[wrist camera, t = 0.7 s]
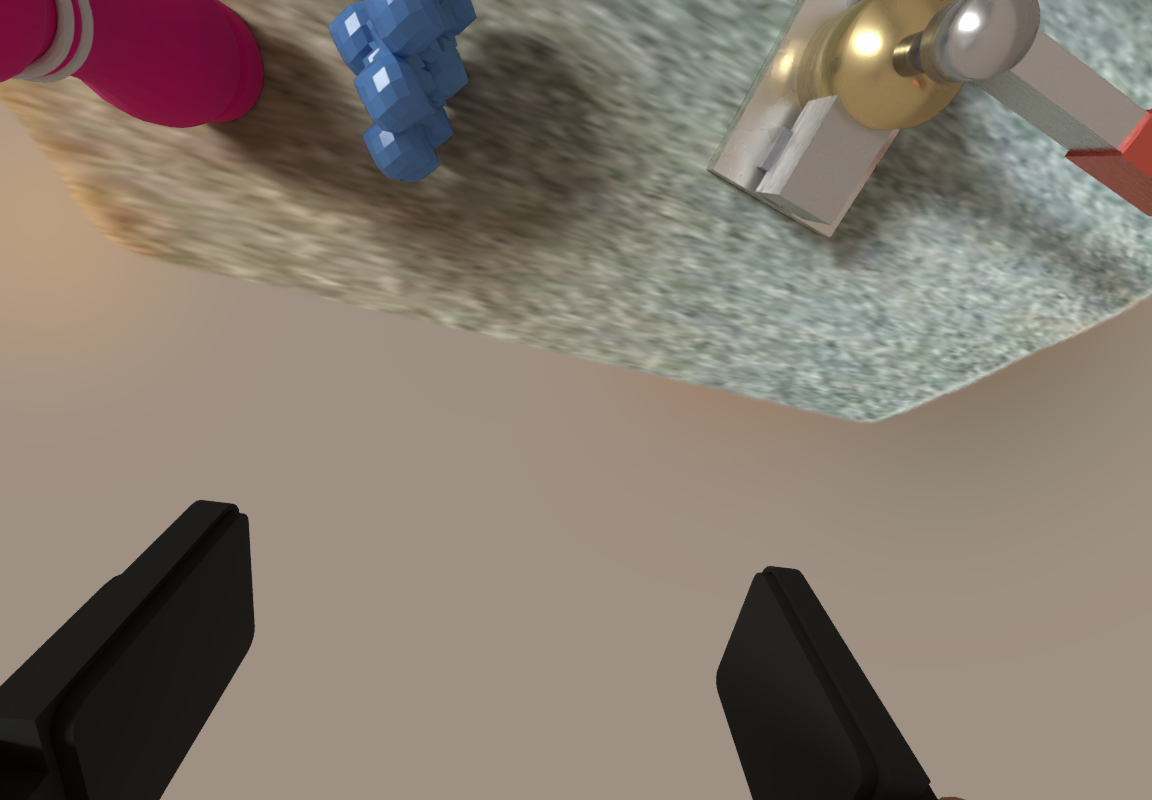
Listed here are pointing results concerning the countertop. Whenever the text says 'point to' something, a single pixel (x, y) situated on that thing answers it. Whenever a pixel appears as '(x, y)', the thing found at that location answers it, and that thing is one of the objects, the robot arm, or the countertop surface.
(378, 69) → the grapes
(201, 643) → the robot arm
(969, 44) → the valve lever
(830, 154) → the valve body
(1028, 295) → the countertop surface
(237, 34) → the pepper mill
